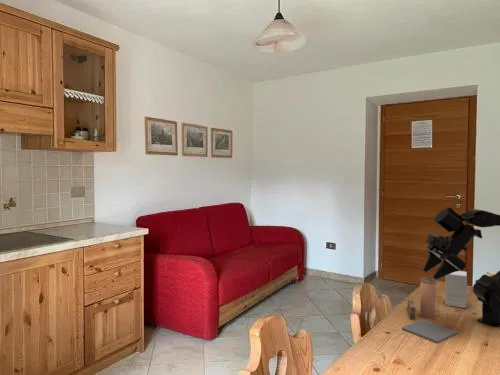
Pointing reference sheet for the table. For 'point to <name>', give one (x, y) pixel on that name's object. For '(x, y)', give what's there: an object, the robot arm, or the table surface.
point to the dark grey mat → (429, 331)
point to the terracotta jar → (428, 297)
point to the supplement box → (456, 289)
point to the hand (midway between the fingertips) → (429, 274)
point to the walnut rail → (411, 308)
